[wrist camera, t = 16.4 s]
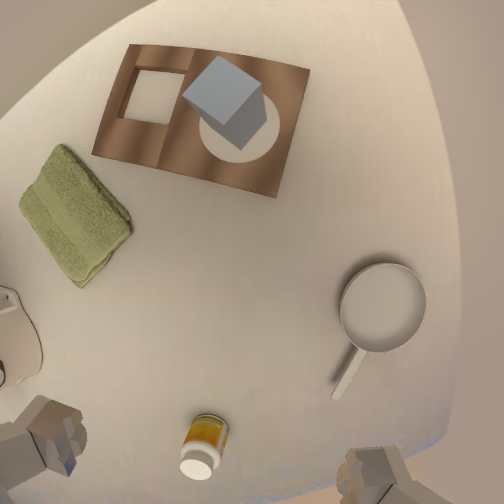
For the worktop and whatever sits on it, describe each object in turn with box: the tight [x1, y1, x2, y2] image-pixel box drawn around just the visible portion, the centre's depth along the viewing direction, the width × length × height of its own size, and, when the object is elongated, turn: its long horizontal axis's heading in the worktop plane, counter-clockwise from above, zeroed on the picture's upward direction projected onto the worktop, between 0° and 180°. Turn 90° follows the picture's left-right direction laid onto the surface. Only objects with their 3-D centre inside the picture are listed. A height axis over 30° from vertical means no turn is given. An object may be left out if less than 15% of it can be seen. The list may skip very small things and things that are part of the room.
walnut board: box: [91, 44, 310, 198], centre depth 35 cm, size 24×16×2 cm, turn 75°
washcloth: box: [19, 144, 131, 289], centre depth 38 cm, size 13×18×3 cm
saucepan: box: [331, 263, 427, 400], centre depth 36 cm, size 11×18×4 cm, turn 156°
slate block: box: [182, 55, 267, 150], centre depth 28 cm, size 4×4×11 cm
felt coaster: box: [199, 94, 280, 163], centre depth 34 cm, size 9×9×1 cm
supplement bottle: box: [180, 415, 228, 480], centre depth 37 cm, size 5×5×10 cm
